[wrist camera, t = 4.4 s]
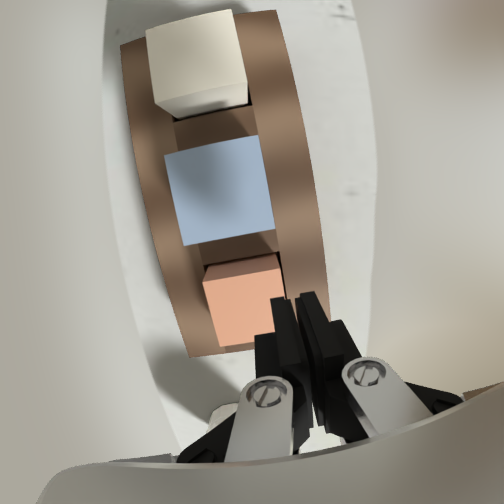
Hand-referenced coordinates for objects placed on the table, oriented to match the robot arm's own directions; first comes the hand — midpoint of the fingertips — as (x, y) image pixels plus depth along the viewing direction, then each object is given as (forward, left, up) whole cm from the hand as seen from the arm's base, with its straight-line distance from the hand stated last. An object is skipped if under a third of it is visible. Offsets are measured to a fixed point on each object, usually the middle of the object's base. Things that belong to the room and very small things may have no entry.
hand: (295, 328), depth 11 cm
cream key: (-13, -2, -12) cm, 18 cm away
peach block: (+3, -2, -14) cm, 14 cm away
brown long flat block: (-5, -2, -16) cm, 17 cm away
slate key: (-5, -2, -12) cm, 13 cm away
